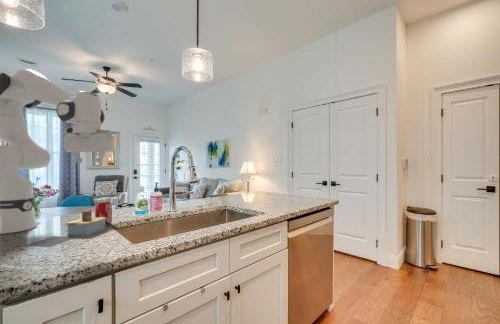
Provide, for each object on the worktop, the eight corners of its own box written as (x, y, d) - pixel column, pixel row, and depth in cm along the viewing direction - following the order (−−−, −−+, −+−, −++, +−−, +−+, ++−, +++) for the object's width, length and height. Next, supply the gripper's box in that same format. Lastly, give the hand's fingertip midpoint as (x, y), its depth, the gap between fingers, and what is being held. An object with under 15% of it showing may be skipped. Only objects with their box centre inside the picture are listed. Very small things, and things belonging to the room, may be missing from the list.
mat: (24, 247, 85) (24, 245, 85) (52, 237, 96) (52, 236, 96) (51, 248, 84) (51, 246, 84) (76, 238, 95) (76, 236, 95)
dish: (67, 236, 97) (67, 224, 97) (85, 229, 107) (85, 218, 107) (88, 236, 96) (88, 224, 96) (105, 230, 106) (105, 219, 106)
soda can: (103, 227, 110) (103, 202, 110) (91, 226, 112) (91, 202, 112) (115, 223, 117) (115, 200, 117) (103, 223, 119) (103, 199, 119)
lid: (65, 224, 97) (65, 213, 97) (85, 218, 107) (85, 208, 107) (88, 225, 96) (88, 213, 96) (106, 219, 106) (106, 208, 106)
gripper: (116, 130, 100) (117, 162, 100) (73, 131, 102) (73, 162, 102) (106, 128, 94) (106, 162, 94) (60, 129, 96) (60, 162, 96)
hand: (89, 162), depth 98 cm, fingers open, 8 cm apart
